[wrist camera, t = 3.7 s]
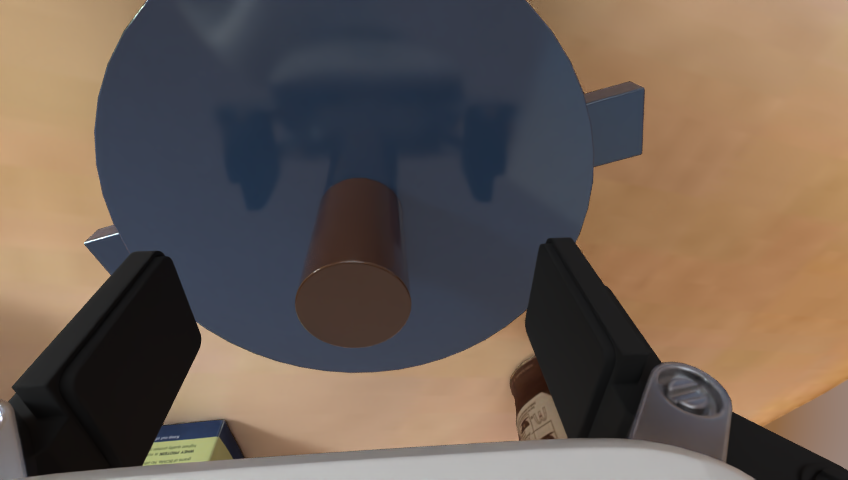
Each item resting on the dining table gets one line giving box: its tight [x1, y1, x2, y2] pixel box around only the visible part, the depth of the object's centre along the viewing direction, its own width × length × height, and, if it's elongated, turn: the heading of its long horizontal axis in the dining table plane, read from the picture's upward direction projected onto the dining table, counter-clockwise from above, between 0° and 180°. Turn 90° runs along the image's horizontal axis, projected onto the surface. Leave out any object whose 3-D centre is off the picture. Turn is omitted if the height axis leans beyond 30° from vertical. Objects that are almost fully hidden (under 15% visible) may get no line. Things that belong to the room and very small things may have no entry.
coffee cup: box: [510, 356, 568, 441], centre depth 29 cm, size 9×8×13 cm
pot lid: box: [94, 0, 594, 373], centre depth 13 cm, size 16×16×6 cm
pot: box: [84, 81, 645, 275], centre depth 18 cm, size 15×20×9 cm
